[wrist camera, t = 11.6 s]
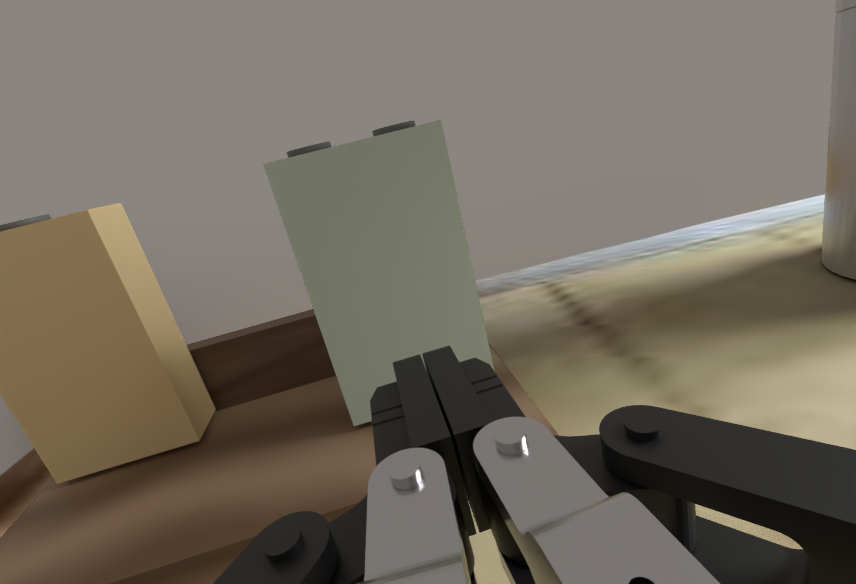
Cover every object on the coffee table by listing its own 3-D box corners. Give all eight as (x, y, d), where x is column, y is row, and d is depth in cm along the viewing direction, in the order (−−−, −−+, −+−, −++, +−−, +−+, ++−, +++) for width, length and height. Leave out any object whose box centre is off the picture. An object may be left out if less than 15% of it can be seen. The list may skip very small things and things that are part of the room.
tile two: (496, 382, 21) (439, 112, 17) (353, 426, 21) (260, 157, 17) (479, 355, 24) (426, 119, 20) (352, 393, 24) (272, 157, 20)
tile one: (199, 440, 23) (84, 203, 19) (57, 483, 22) (-94, 248, 18) (215, 409, 26) (118, 197, 22) (90, 446, 25) (-34, 235, 21)
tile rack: (564, 467, 18) (544, 345, 16) (-78, 681, 16) (-185, 567, 14) (479, 346, 29) (462, 267, 27) (100, 460, 27) (55, 382, 25)
